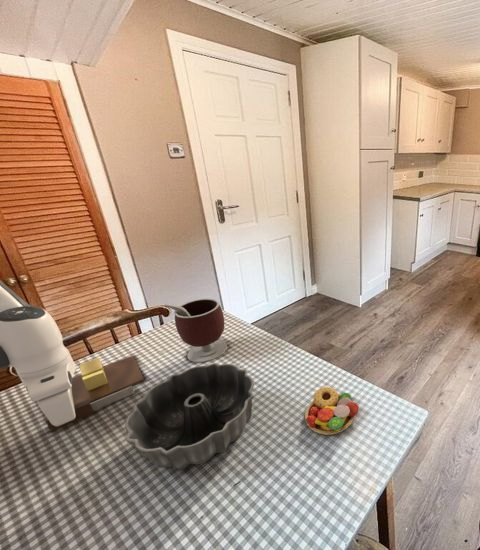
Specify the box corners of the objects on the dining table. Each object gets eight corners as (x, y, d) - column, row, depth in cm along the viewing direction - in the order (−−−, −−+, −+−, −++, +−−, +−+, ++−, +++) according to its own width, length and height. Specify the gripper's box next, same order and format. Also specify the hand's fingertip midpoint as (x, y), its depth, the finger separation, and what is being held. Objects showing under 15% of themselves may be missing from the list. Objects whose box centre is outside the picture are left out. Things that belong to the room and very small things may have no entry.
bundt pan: (205, 503, 59) (194, 467, 55) (107, 465, 66) (91, 432, 62) (279, 403, 82) (275, 373, 78) (201, 383, 89) (194, 355, 86)
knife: (51, 432, 74) (45, 421, 72) (51, 427, 75) (45, 416, 74) (135, 395, 85) (131, 385, 84) (133, 391, 86) (130, 381, 85)
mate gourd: (229, 336, 112) (219, 287, 105) (230, 357, 100) (218, 304, 93) (182, 346, 106) (167, 295, 99) (176, 370, 95) (160, 314, 87)
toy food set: (321, 391, 86) (321, 382, 85) (364, 403, 82) (364, 394, 80) (295, 428, 75) (294, 418, 73) (344, 445, 70) (343, 435, 69)
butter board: (51, 421, 77) (43, 406, 75) (49, 389, 87) (42, 375, 86) (144, 381, 90) (139, 367, 88) (133, 358, 101) (128, 345, 99)
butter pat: (87, 391, 85) (82, 380, 84) (87, 388, 86) (82, 377, 85) (107, 383, 88) (103, 372, 87) (107, 380, 89) (102, 369, 88)
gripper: (30, 357, 76) (51, 400, 81) (28, 401, 63) (54, 448, 68) (64, 346, 80) (82, 388, 85) (70, 385, 67) (91, 431, 72)
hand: (70, 415), depth 76 cm, fingers closed on knife, 2 cm apart
